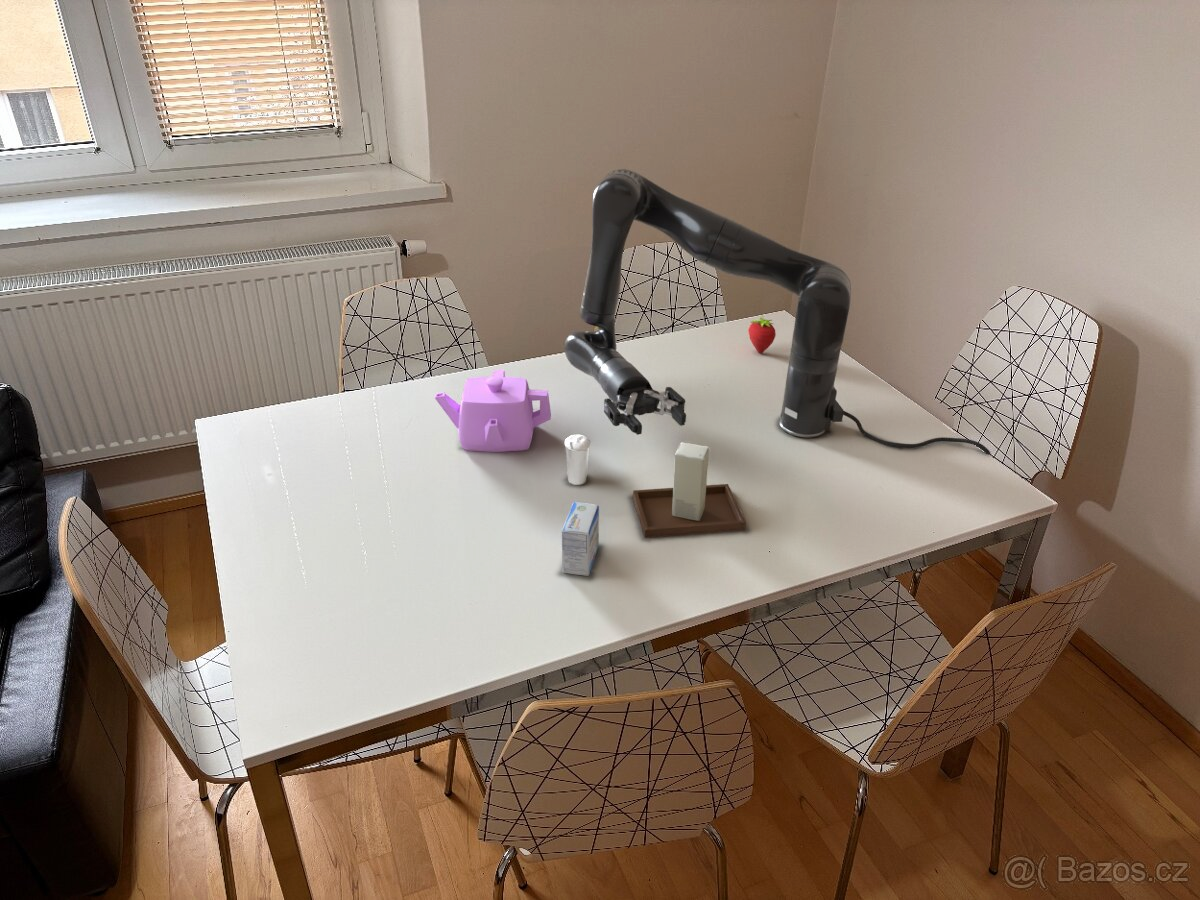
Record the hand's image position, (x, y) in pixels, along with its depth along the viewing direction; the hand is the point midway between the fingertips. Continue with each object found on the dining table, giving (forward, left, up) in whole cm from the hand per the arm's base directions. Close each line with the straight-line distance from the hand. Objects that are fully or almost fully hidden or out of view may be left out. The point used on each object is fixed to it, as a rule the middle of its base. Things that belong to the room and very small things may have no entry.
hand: (662, 425), depth 155 cm
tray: (-3, +11, -12) cm, 16 cm away
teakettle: (+29, -18, -12) cm, 36 cm away
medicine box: (+17, +21, -12) cm, 29 cm away
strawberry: (-34, -48, -12) cm, 60 cm away
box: (-3, +11, -12) cm, 16 cm away
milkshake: (+15, -1, -12) cm, 19 cm away
